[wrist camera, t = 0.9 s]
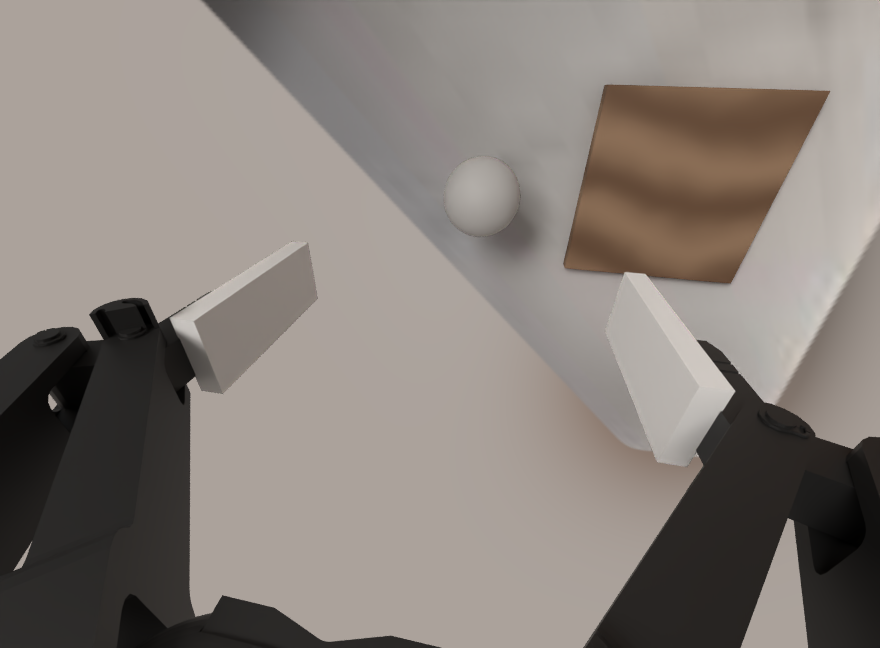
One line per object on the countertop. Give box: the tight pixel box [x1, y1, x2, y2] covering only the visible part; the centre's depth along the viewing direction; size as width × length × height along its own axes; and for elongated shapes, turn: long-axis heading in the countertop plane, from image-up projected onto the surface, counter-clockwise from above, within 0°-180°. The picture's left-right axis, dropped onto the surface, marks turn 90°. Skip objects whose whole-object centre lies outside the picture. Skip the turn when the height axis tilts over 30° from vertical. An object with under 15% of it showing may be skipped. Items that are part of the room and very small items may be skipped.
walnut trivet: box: [563, 85, 830, 284], centre depth 33 cm, size 16×16×1 cm
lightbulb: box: [444, 156, 520, 237], centre depth 31 cm, size 6×6×11 cm
